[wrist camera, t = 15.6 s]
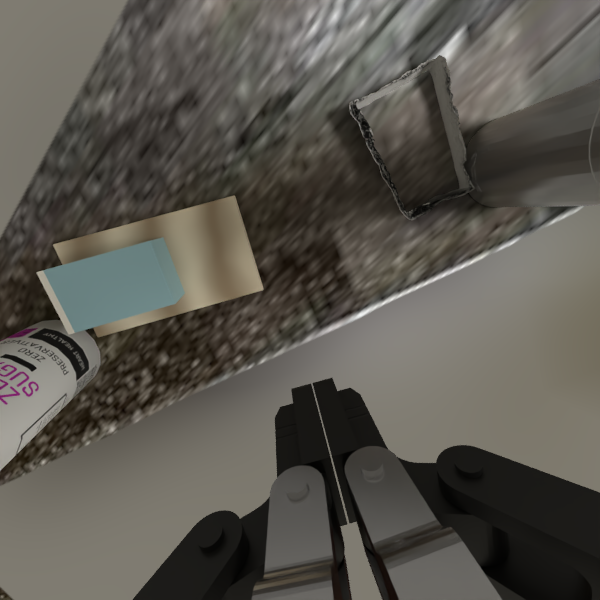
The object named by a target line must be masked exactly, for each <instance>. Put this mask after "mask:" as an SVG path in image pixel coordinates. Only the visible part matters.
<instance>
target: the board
mask: <svg viewBox="0 0 600 600" xmlns="http://www.w3.org/2000/svg"><path fill="white" fill-rule="evenodd" d="M162 237H163V238H164V240H165V243H166V245H167V248H168V251H169V253H170V256H171V258H172V261H173V264H174V266H175V269H176V271H177V274H178V276H179V279H180V282H181V284H182V287H183V289H184V292H185V294H184V295H183V296H182V297H181V298H180V299H179V301H178V302H177V303H176V304H173V305H170V306H166V307H163V308H159V309H156V310H152V311H149V312H145V313H142V314H138V315H135V316H132V317H128V318H125V319H121V320H118V321H114V322H111V323H107V324H104V325H100V326H97V327H93V328H94V330H95V333H96V335H97V337H101V336H104V335H108V334H111V333H115V332H118V331H122V330H125V329H129V328H132V327H136V326H139V325H143V324H146V323H150V322H153V321H157V320H160V319H164V318H167V317H171V316H174V315H178V314H181V313H185V312H188V311H192V310H195V309H199V308H202V307H206V306H209V305H213V304H216V303H220V302H223V301H227V300H230V299H234V298H237V297H241V296H244V295H248V294H251V293H255V292H258V291H262V290H263V285H262V281H261V278H260V275H259V271H258V268H257V265H256V262H255V258H254V255H253V252H252V249H251V245H250V242H249V239H248V235H247V232H246V229H245V226H244V222H243V219H242V216H241V213H240V209H239V206H238V203H237V200H236V196H235V195H234V196H230V197H227V198H223V199H219V200H216V201H212V202H208V203H205V204H201V205H197V206H193V207H190V208H186V209H182V210H179V211H175V212H171V213H168V214H164V215H160V216H156V217H153V218H149V219H145V220H142V221H138V222H134V223H131V224H127V225H123V226H120V227H116V228H112V229H108V230H105V231H101V232H97V233H94V234H90V235H86V236H83V237H79V238H75V239H72V240H68V241H64V242H60V243H57V244H53V246H54V248H55V250H56V252H57V254H58V257H59V259H60V261H61V263H62V265H64V264H68V263H72V262H75V261H79V260H82V259H86V258H90V257H93V256H97V255H100V254H104V253H107V252H111V251H115V250H118V249H122V248H125V247H129V246H133V245H136V244H140V243H143V242H147V241H151V240H155V239H158V238H162Z"/></svg>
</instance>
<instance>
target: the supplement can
mask: <svg viewBox="0 0 600 600" xmlns="http://www.w3.org/2000/svg"><path fill="white" fill-rule="evenodd" d="M99 366H100V351H99V349H98V347H97V345H96V343H95V340H94V339H93V338H92V337H91V336H90V335H89V334H88V333H87V332H86V331H85V330H83V331H80V332H76V333H73V334H69V335H68V333H67V331H66V329H65V327H64V325H63V323H62V321H60V320H48V321H41V322H39V323H36V324H34V325H32V326H30V327H28V328H26V329H24V330H22V331H20V332H18V333H16V334H14V335H12V336H10V337H8V338H6V339H4V340H2V341H0V470H1V469H2V468H3V467H4V466H5V465H6V464H7V463H8V462H9V461H10V460H11V459H12V458H13V457H14V456H15V455H16V454H17V453H18V452H19V451H20V450H21V449H22V448H23V447H24V446H25V445H26V444H27V443H28V442H29V441H30V440H31V439H32V438H33V437H34V436H35V435H36V434H37V433H38V432H39V431H40V430H41V429H42V428H43V427H44V426H45V425H46V424H47V423H48V422H49V421H50V420H51V419H52V418H53V417H54V416H55V415H57V414H58V413H59V412H60V411H61V410H62V409H63V408H64V407H65V406H66V405H67V404H68V403H69V402H70V401H71V400H72V399H73V398H74V397H75V396H76V395H77V394H78V393H79V392H80V391H81V390H82V389H83V388H84V387H85V386H86V385H87V384H88V383H89V382H90V381H91V380H92V379H93V378H94V377H95V376H96V374H97V372H98V369H99Z"/></svg>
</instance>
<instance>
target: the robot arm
mask: <svg viewBox="0 0 600 600" xmlns="http://www.w3.org/2000/svg"><path fill="white" fill-rule="evenodd" d="M466 157H467V160H466V161H465V163H464V168H465V171H466V172H467V175H470V177H471V178H470V181H471V183H472V184H473V186H474V187H475V189H474V190H472V191H471V192H468V193H469V194H470V195H471V197H472V198H473V199H474V200H476V201H477V202H478V203H480V204H482V205H484V206H488V207H543V206H590V205H600V79H598V80H596V81H593V82H591V83H588V84H585V85H583V86H580V87H578V88H575V89H573V90H570V91H567V92H565V93H562V94H560V95H557V96H555V97H552V98H549V99H547V100H544V101H542V102H539V103H537V104H534V105H532V106H529V107H526V108H523V109H521V110H518V111H516V112H513V113H511V114H508V115H506V116H503V117H500V118H498V119H495V120H493V121H491V122H489V123H487V124H486V125H484V126H483V127H482V128H481V129H480V130H478V132H477V133H476V134H475V135H474V136H473V138H472V139H471V141H470V143H469V144H468V146H467V154H466ZM313 386H314V390H315V394H316V398H317V401H318V405H319V409H320V413H321V416H322V420H323V424H324V428H325V432H326V436H327V439H328V443H329V447H330V451H331V454H332V458H333V462H334V466H335V469H336V473H337V477H338V481H339V484H340V488H341V492H342V496H343V500H344V503H345V508H346V511H347V515H348V519H349V523H353V522H356V521H357V524H358V527H359V531H360V534H361V538H362V541H363V546H364V550H365V553H366V556H367V559H368V562H369V564H370V567H371V570H372V573H373V575H374V578H375V581H376V584H377V586H378V589H379V592H380V594H381V597H382V600H600V493H599V492H597V491H594V490H591V489H589V488H586V487H583V486H580V485H577V484H575V483H572V482H569V481H566V480H564V479H561V478H559V477H556V476H553V475H550V474H548V473H545V472H542V471H539V470H537V469H534V468H531V467H529V466H526V465H523V464H520V463H518V462H514V461H512V460H510V459H507V458H504V457H502V456H499V455H496V454H493V453H491V452H488V451H485V450H482V449H480V448H476V447H473V446H466V445H461V446H453V447H450V448H447V449H445V450H444V451H443V452H441V454H440V455H439V456H438V458H437V462H436V463H413V462H408V461H405V460H402V459H400V458H398V457H396V455H395V454H394V453H392V452H391V451H390V450H388V448H387V447H386V445H385V443H384V441H383V439H382V437H381V435H380V433H379V431H378V429H377V427H376V425H375V423H374V421H373V419H372V417H371V415H370V413H369V411H368V409H367V407H366V406H365V403H364V401H363V399H362V397H361V395H360V394H359V393H357V392H356V391H354V390H353V389H351V388H348V389H344V390H340V391H337V389H336V387H335V384H334V382H333V379H332V378H330V379H326V380H322V381H319V382H315V383H313ZM292 397H293V404H290V405H286V406H282V407H280V409H279V411H278V413H277V415H276V417H275V429H276V432H275V433H276V458H277V479H276V480H275V481H274V483H273V485H272V488H271V491H270V497H269V498H268V499H267V501H266V502H265V503H264V504H262V505H261V506H260V507H258V508H257V509H256V510H254V511H252V512H251V513H249V514H247V515H246V516H244V517H242V518H241V519H239V517H238V516H237V515H236V514H235V513H233V512H231V511H218V512H214V513H212V514H210V515H208V516H206V517H205V518H203V519H202V520H200V521H199V522H198V523H197V524H196V525H195V526H194V527H193V528H192V530H191V531H190V532H189V533H188V534H187V535H186V537H185V538H184V539H183V540H182V541H181V543H180V544H179V545H178V546H177V548H176V549H175V550H174V551H173V552H172V553H171V555H170V556H169V557H168V558H167V559H166V560H165V562H164V563H163V564H162V565H161V566H160V568H159V569H158V570H157V571H156V573H155V574H154V575H153V576H152V577H151V578H150V580H149V581H148V582H147V583H146V584H145V585H144V587H143V588H142V589H141V590H140V591H139V593H138V594H137V595H136V596H135V597H134V599H133V600H352V596H351V591H350V583H349V577H348V570H347V564H346V558H345V554H344V548H345V547H344V541H343V536H342V532H341V528H340V526H343V525H347V521H346V517H345V513H344V509H343V505H342V501H341V498H340V494H339V490H338V486H337V482H336V478H335V474H334V471H333V466H332V463H331V458H330V454H329V451H328V447H327V443H326V439H325V435H324V431H323V427H322V423H321V420H320V416H319V412H318V408H317V405H316V401H315V397H314V393H313V389H312V386H311V384H308V385H304V386H300V387H297V388H293V389H292Z"/></svg>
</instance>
